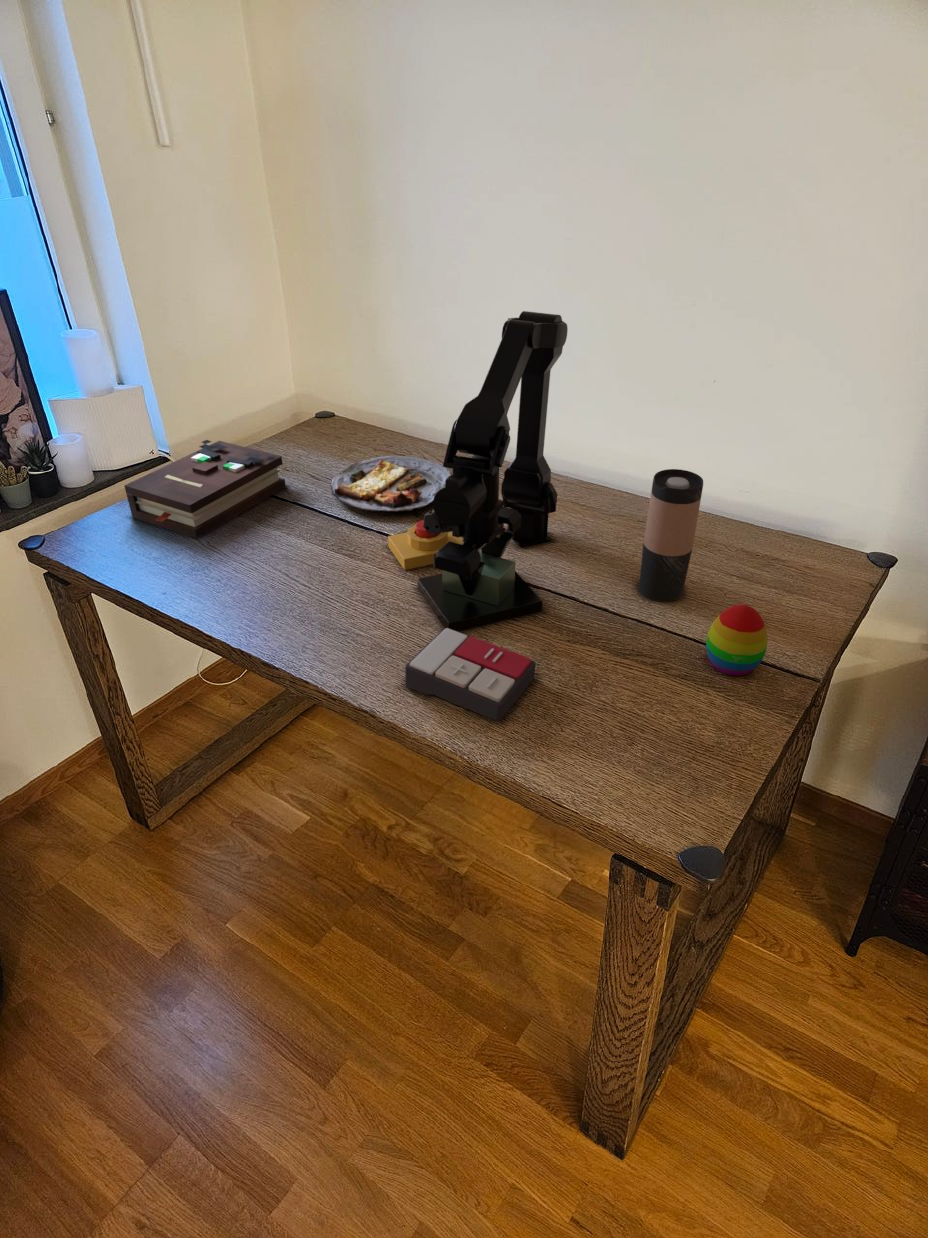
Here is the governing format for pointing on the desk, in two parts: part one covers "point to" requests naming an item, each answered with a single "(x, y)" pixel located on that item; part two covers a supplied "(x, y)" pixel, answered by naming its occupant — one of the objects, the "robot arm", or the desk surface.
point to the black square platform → (476, 604)
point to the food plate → (390, 483)
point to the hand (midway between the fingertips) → (478, 585)
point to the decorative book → (205, 488)
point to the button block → (418, 547)
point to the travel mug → (669, 533)
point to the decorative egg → (737, 640)
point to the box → (486, 580)
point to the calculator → (470, 673)
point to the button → (423, 531)
